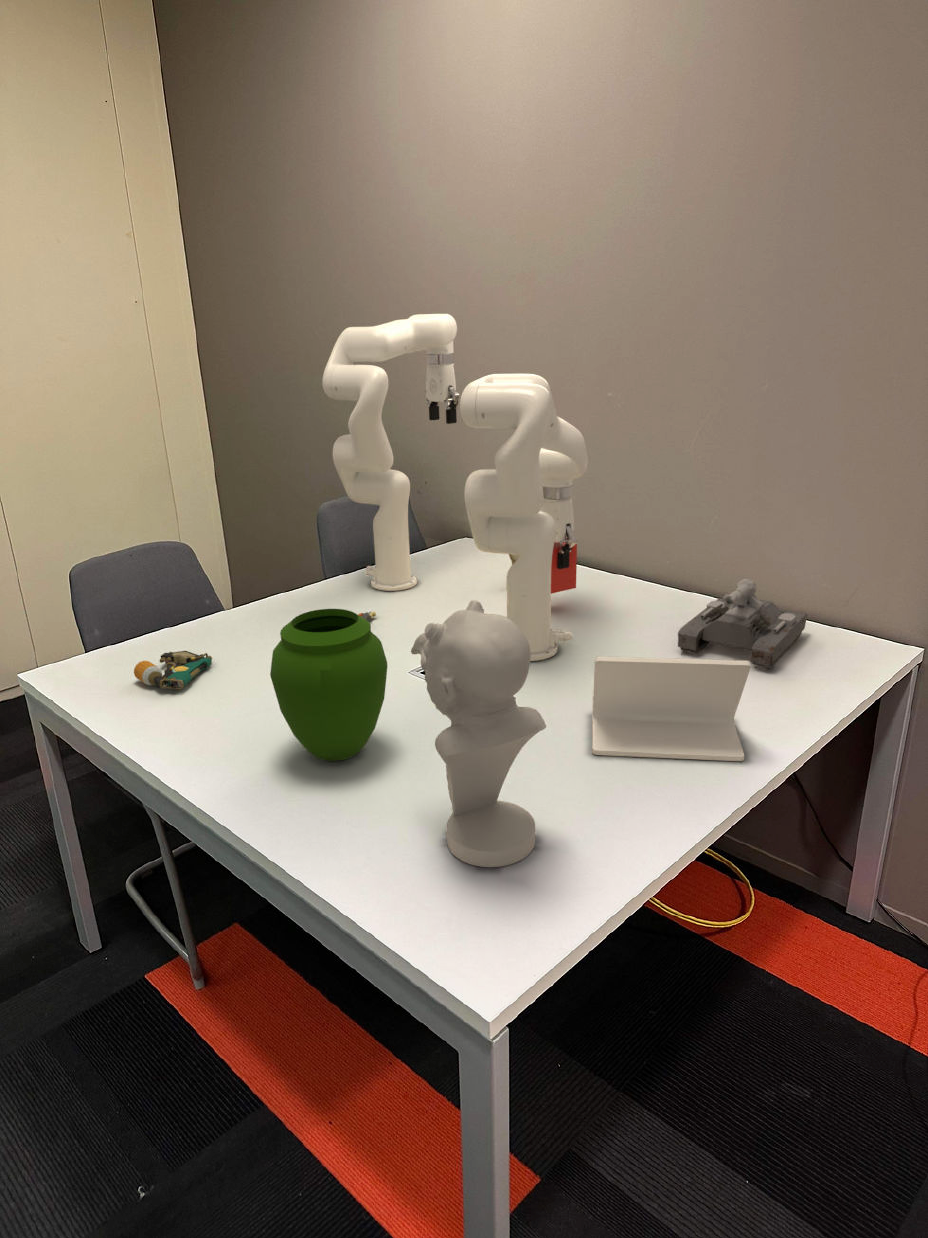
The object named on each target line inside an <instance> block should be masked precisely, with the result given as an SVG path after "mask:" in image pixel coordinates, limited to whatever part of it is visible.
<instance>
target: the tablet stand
mask: <svg viewBox="0 0 928 1238" xmlns="http://www.w3.org/2000/svg"><path fill="white" fill-rule="evenodd" d="M751 668H752V667H751V662H750V661H749V660H733V659H699V658H666V657H665V658H664V657H663V658H661V657H629V656H596V657H595V658H594V668H593V669H594V672H593V675H594V676H593V693H592V710H591V711H592V712H591V713H592V715H591V716H592V719H591V721H592V725H591V726H592V754H593V755H595V756H613V757H614V756H615V757H635V758H636V757H637V758H660V759H681V760H682V759H683V760H704V761H705V760H707V761H727V762H743V761H744V759H745V753H744V750H743V747H742V743H741V741H740V737H739V734H738V731H737V728H736V726H735V716H736V713H737V710H738V707H739V704H740V701H741V698H742V695H743V692H744V689H745V686H746V683H747V680H748V677H749V674H750V671H751Z"/></svg>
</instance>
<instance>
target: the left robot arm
mask: <svg viewBox="0 0 928 1238" xmlns="http://www.w3.org/2000/svg"><path fill="white" fill-rule="evenodd" d="M457 333H458V324H457V321H456V319H455V318H454V317H453V316H452V315H451V314H449V313H425V314H424V313H422V314H421V313H420V314H413V315H411V316H409V317H408V318H405V319H404V318H403V319H396V320H395V319H394V320H392V321H389V322H385V323H382V324H378V325H374V326H373V325H372V326H348V327H346V328H345V329H344V330H342V332H341V333H340V335H339V336H338V337H337V339H336V341H335V344H334V345H333V348H332V350H331V353H330V356H329V358H328V361H327V363H326V365H325V368H324V369H323V370H324V372H323V374H322V380H321V381H322V383H321V384H322V388H323V392H324V393H325V395H326V396H327V397H328V398H330V399H332V400H336V401H355V402H356V401H357V402H356V404H355V406H354V409H353V410H352V412H351V413H350V416H349V418H348V422H347V428H348V431H349V434H348V433H347V434H343V435H340V436H339V437H337V439H336V440H335V441H334V443H333V447H332V461H333V464H334V467H335V470H336V471H337V475H338V478H339V480H340V481H341V482H340V483H341V485H342V486H343V488H344V491H345V493H346V495H347V497H348V498H349V499H350V500H351V501H352V502H354V503H357V504H364V505H374V506H378V507H379V509H378V510H377V512H376V514H375V515H374V517H373V520H372V532H373V533H372V534H373V547H374V563H375V564H374V565H375V566H374V565H367V566H366V568H365V571H364V573H365V575H368V576H372V579H371V580H370V583H371V584H370V585H371V587H372V588H373V589H375V590H379V591H384V592H393V591H395V592H396V591H404V590H408V589H411V588H413V587H415V586H416V585H417V584H418V578H417V577H416V576H414V575H413V574H412V570H411V567H412V566H411V552H410V550H411V549H410V531H409V530H410V529H409V502H410V501H409V500H410V493H411V481H410V479H409V477H408V475H406V474H405V473H404V472H402V471H400V470H397V469H392V467H393V465H394V454H393V449H392V446H391V444H390V441H389V437H388V434H387V433H386V430H385V427H384V423H383V420H382V413H383V408H384V405H385V400H386V397H387V394H388V390H389V377H388V374H387V372H386V371H385V370H384V368H382V367H380V366H377V365H372V364H354V363H379V362H380V363H381V362H385V361H388V360H391V359H394V358H396V357H398V356H403V355H405V354H413V353H417V352H421V351H426V361H427V365H426V372H425V373H426V375H425V377H426V378H425V390H424V391H425V397H426V401H427V406H428V420H429V421H438V420H440V405H439V403H443V402H444V405H445V407H446V409H445V423H446V424H447V425H451V424H456V423H457V422H458V421H457V409H458V404H459V398H460V393H458V391H457V383H456V374H455V373H456V372H455V357H454V353H455V352H454V340H455V338H456V336H457Z"/></svg>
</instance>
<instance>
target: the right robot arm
mask: <svg viewBox="0 0 928 1238" xmlns="http://www.w3.org/2000/svg"><path fill="white" fill-rule="evenodd" d="M554 401H555V400H554V398H553V394H552V391H551V386H550V384H549V382H548V381H547V380H546V379H545V378H544V377H542V376H541V375H538V374H534V373H492V374H488V375H485V376H482V377H480V378H478V379H475V380H473V381H471V382H469V383H468V384H467V385H466V386H465V388H464V389H463V390H462V393H461V396H460V400H459V410H460V416H461V419H462V420H463V422H464V423H465V425H467V426H468V427H470V428H473V429H486V430H487V429H490V430H494V429H495V430H498V429H499V430H515V431H514V432H513V433H512V434H511V435H510V436H509V437H508V438H507V439H505V441H503V442H502V444H501V445H500V447H499V448H498V449H497V451H496V453H495V455H494V466H495V469H493V468H491V469H490V468H483V469H477V470H474V471H472V472H471V473H470V474H469V475H468V477H467V478H466V481H465V484H464V485H465V486H464V493H463V495H464V506H465V510H466V515H467V519H468V523H469V528H470V532H471V537H472V540H473V542H474V545H475V547H476V549H478V550H479V551H481V552H483V553H489V554H500V555H501V554H503V555H509V554H512V555H517V556H519V558H518V559H517V560H516V562H515V563H514V564H513V565H512V564H511V566H510V567H509V569H508V571H507V573H506V617H507V618H509V619H511V620H512V621H513V622H514V623H515V624H516V625H517V626H518V627H519V628H520V629H521V630H522V632H523V633H524V634H525V636H526V638H527V640H528V643H529V646H530V652H531V653H530V655H531V656H530V662H535V661H536V662H537V661H543V660H547V659H550V658H552V657H554V656H555V655H556V654H557V652H558V643H559V642H568V641H569V642H570V641H572V640H573V633H572V632H571V631H563V629H556V630H553V629H552V628H551V625H552V621H551V618H552V616H551V613H552V609H551V608H552V594H551V564H552V553H553V547H554V542H557V543H558V548H559V552H560V553H558V562H557V568H558V569H564V568H568V567H569V552H571V549H572V548H573V546H574V545H575V544H577V543H578V541H577V538H576V536H575V514H574V513H575V512H574V504H573V503H574V502H573V500H572V499H573V496H572V495H573V480H575V479H579V478H581V477H583V476H584V475H585V474H586V472H587V469H588V465H589V459H588V458H589V457H588V450H587V446H586V445H587V444H586V441H585V438H584V435H583V434H582V432H581V431H580V430H579V429H578V428H576V427H575V426H574V425H572V424H571V423H570V422H569V421H566V420H565V419H563V418H561V417H559V416H558V413H557V410H556V409H557V408H556V406H555V402H554ZM563 539H564V540H563ZM563 542H565V545H564V547H563V544H562V543H563Z"/></svg>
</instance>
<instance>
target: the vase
mask: <svg viewBox="0 0 928 1238" xmlns="http://www.w3.org/2000/svg"><path fill="white" fill-rule="evenodd" d="M371 625H372V624H371V623H370V620H369V621H367V620H366V619H365V618H363V617H361V616H359V615H358V614H357V613H356V612H354V611H352V610H348V609H343V608H321V609H315V610H310V611H307V612H304V613H301V614H299V615H297V616H295V617H293V618H292V619H291V620H290V621H289V622H288V623H287V624H285V625H284V626H283V627H282V628H281V629H280V631H279V635H280V641H279V642H278V643H277V645H276V646H275V647H274V649H273V650H272V655H271V663H270V672H269V676H270V679H271V683H272V686H273V690H274V693H275V696H276V700H277V703H278V707H279V710H280V712H281V714H282V716H283V718H284V720H285V722H286V724H287V725H288V728H289V729H290V731H291V733H292V735H293V736H294V737H295V739H296V740H297V741H298V742H299V744H300V745H301V746H302V747H303V748H304V750H306V751H307V752H308V753H309V754H311V755H312V756H313V757H315V758H316V759H319V760H321V761H327V762H339V761H345V760H347V759H350V758H352V757H354V756H357V755H358V754H359V753H360V752H361V750H363V748H364V747H365V746H366V744H367V743H368V741H369V740H370V738H371V736H372V734H373V732H374V730H375V729H376V726H377V725H378V720H379V717H380V714H381V711H382V707H383V704H384V701H385V697H386V686H387V678H388V677H387V675H388V660H387V657H386V654H385V650H384V646H383V644H382V641H381V639H380V638H379V637H378V636H377V635H375V633H374V632H372V629H371V628H372V626H371Z"/></svg>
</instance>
